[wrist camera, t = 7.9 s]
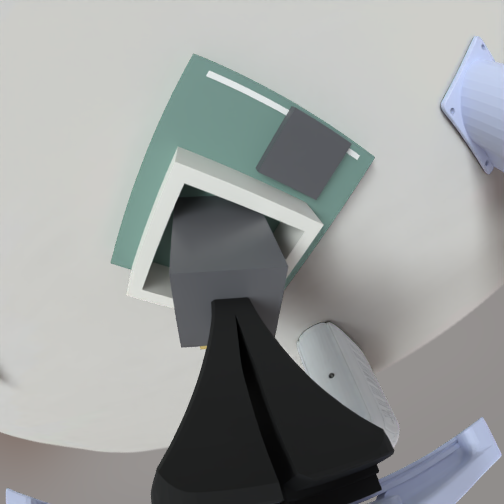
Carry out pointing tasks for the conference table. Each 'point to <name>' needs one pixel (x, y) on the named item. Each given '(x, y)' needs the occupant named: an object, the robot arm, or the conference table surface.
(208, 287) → the plug
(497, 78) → the robot arm
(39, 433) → the conference table surface
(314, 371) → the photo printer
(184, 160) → the board
